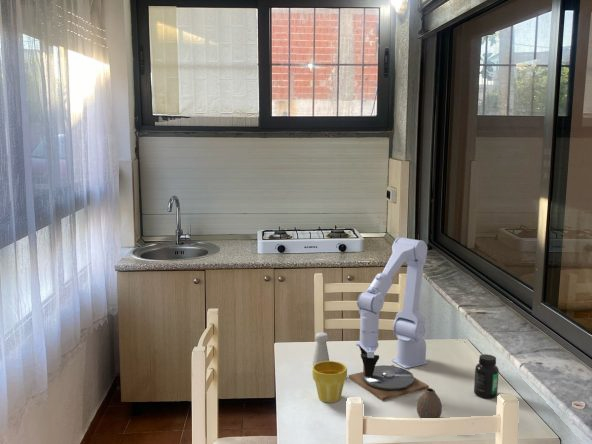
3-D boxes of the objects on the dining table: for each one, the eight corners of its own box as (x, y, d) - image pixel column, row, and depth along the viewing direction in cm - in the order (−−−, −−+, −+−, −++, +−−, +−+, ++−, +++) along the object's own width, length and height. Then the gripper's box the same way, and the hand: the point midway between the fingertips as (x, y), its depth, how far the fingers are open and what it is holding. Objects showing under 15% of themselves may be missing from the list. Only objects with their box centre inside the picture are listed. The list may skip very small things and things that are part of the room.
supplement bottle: (500, 399, 180) (502, 361, 178) (477, 399, 180) (479, 361, 178) (492, 389, 187) (495, 353, 185) (471, 389, 187) (473, 352, 185)
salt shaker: (328, 375, 196) (329, 337, 194) (311, 373, 197) (311, 336, 195) (330, 368, 202) (331, 331, 200) (314, 366, 203) (314, 329, 201)
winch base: (393, 367, 203) (393, 364, 202) (428, 388, 187) (428, 385, 187) (348, 378, 194) (348, 375, 194) (382, 400, 179) (382, 397, 178)
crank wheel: (409, 369, 198) (410, 350, 197) (417, 390, 182) (418, 370, 181) (360, 368, 198) (361, 349, 197) (365, 389, 183) (365, 369, 182)
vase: (413, 413, 171) (414, 384, 170) (436, 412, 172) (438, 384, 170) (420, 425, 164) (421, 395, 163) (444, 424, 165) (446, 395, 163)
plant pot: (304, 396, 181) (305, 366, 179) (329, 387, 187) (329, 357, 186) (329, 409, 173) (329, 377, 171) (353, 398, 180) (354, 368, 178)
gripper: (354, 321, 195) (353, 361, 197) (358, 337, 181) (356, 380, 183) (376, 322, 195) (375, 361, 197) (381, 338, 181) (380, 380, 183)
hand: (367, 370), depth 190 cm, fingers open, 7 cm apart
